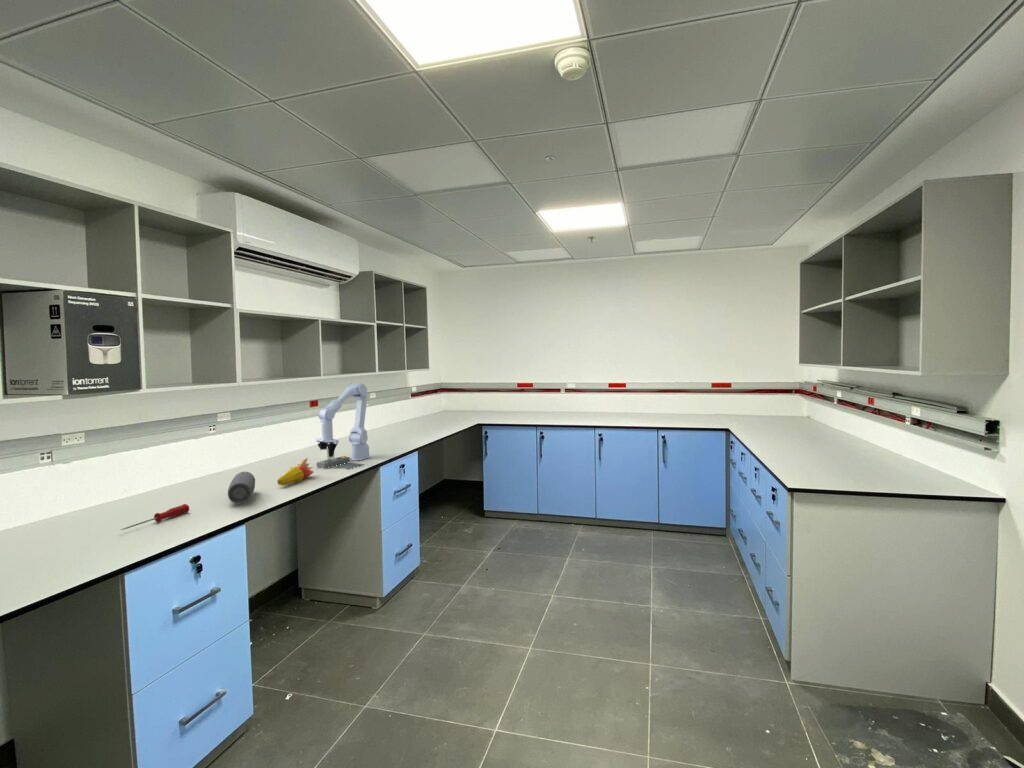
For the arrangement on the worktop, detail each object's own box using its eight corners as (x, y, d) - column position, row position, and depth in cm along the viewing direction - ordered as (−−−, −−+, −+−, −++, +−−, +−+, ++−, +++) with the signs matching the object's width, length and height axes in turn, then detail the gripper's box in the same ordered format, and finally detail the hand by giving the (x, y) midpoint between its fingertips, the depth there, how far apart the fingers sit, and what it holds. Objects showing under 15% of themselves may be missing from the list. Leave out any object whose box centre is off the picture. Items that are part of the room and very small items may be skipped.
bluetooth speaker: (232, 494, 215) (231, 471, 214) (256, 491, 219) (255, 469, 218) (226, 508, 194) (225, 483, 194) (253, 505, 198) (252, 480, 197)
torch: (278, 496, 224) (307, 476, 248) (292, 488, 222) (319, 469, 247) (268, 481, 223) (298, 462, 248) (282, 473, 222) (311, 455, 246)
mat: (348, 463, 275) (348, 462, 275) (363, 465, 271) (363, 464, 271) (333, 467, 266) (333, 466, 266) (348, 469, 261) (348, 468, 261)
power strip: (342, 461, 281) (341, 455, 281) (349, 462, 278) (349, 456, 278) (316, 468, 265) (316, 461, 265) (324, 469, 262) (324, 462, 262)
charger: (328, 459, 271) (328, 448, 271) (334, 460, 269) (334, 448, 269) (321, 461, 267) (320, 449, 266) (327, 462, 265) (327, 450, 264)
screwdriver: (116, 534, 166) (116, 524, 165) (183, 512, 190) (182, 503, 190) (124, 535, 165) (124, 525, 165) (190, 512, 189) (190, 503, 189)
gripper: (311, 431, 267) (312, 456, 267) (331, 433, 260) (331, 458, 261) (321, 429, 273) (322, 454, 274) (341, 431, 267) (341, 456, 267)
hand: (327, 456), depth 268 cm, fingers closed on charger, 4 cm apart
